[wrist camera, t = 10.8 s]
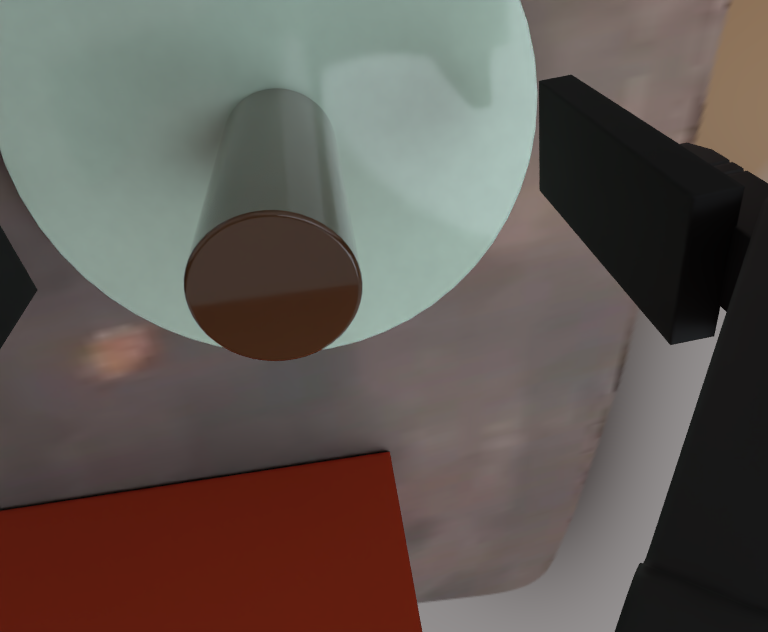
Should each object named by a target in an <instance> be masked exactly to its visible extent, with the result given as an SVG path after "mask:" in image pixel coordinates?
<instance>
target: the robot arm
mask: <svg viewBox="0 0 768 632" xmlns="http://www.w3.org/2000/svg"><path fill="white" fill-rule="evenodd" d="M539 162H540V191H541V192H542V194H543V195H544V196H545V197H546V198H547V199H548V201H549V202H550V203H551V204H552V205H553V207H554V208H555V209H556V210H557V211H558V212H559V214H560V215H561V216H562V217H563V218H564V220H565V221H566V222H567V223H568V224H569V226H570V227H571V228H572V229H573V230H574V231H575V233H576V234H577V235H578V236H579V237H580V239H581V240H582V241H583V242H584V243H585V244H586V246H587V247H588V248H589V249H590V250H591V252H592V253H593V254H594V255H595V256H596V257H597V259H598V260H599V261H600V262H601V263H602V265H603V266H604V267H605V268H606V269H607V271H608V272H609V273H610V274H611V275H612V276H613V278H614V279H615V280H616V281H617V282H618V284H619V285H620V286H621V287H622V288H623V289H624V291H625V292H626V293H627V294H628V295H629V297H630V298H631V299H632V300H633V301H634V302H635V304H636V305H637V306H638V307H639V308H640V310H641V311H642V312H643V313H644V314H645V316H646V317H647V318H648V319H649V320H650V321H651V322H652V324H653V325H654V326H655V327H656V329H657V330H658V331H659V332H660V333H661V334H662V336H663V337H664V338H665V339H666V340H667V342H668V343H669V344H670V345H673V344H678V343H683V342H688V341H693V340H697V339H702V338H707V337H712V336H714V334H715V330H716V325H717V320H718V315H719V310H720V306H721V307H722V308H723V309H724V310H725V311H726V312H727V313H726V316H725V319H724V322H723V325H722V328H721V331H720V334H719V337H718V340H717V343H716V346H715V349H714V352H713V356H712V359H711V362H710V365H709V368H708V371H707V374H706V377H705V380H704V383H703V386H702V389H701V392H700V395H699V398H698V402H697V404H696V408H695V411H694V414H693V417H692V420H691V423H690V426H689V429H688V432H687V435H686V438H685V441H684V444H683V447H682V450H681V453H680V457H679V459H678V462H677V465H676V469H675V472H674V475H673V478H672V481H671V484H670V487H669V490H668V493H667V496H666V499H665V502H664V506H663V508H662V511H661V514H660V517H659V521H658V524H657V527H656V530H655V533H654V536H653V539H652V542H651V545H650V548H649V551H648V554H647V557H646V559H645V561H644V563H640V564H639V566H638V568H637V570H636V572H635V575H634V577H633V580H632V583H631V586H630V588H629V591H628V594H627V597H626V600H625V603H624V606H623V609H622V612H621V615H620V618H619V621H618V623H617V626H616V630H615V632H768V183H766V182H765V181H763V180H761V179H760V178H758V177H756V176H755V175H753V174H752V173H750V172H748V171H744V170H743V168H742V167H740V166H738V165H737V164H735V163H733V162H731V163H730V162H729V160H728V159H727V158H725V157H723V156H722V155H720V154H718V153H717V152H715V151H714V150H712V149H708V148H704V147H701V146H697V145H694V144H690V143H683V144H678V143H677V142H675V141H674V140H672V139H670V138H669V137H667V136H666V135H664V134H663V133H661V132H660V131H658V130H656V129H655V128H653V127H652V126H650V125H649V124H647V123H646V122H644V121H642V120H641V119H639V118H638V117H636V116H635V115H633V114H632V113H630V112H628V111H627V110H625V109H624V108H622V107H621V106H619V105H618V104H616V103H614V102H613V101H611V100H610V99H608V98H607V97H605V96H604V95H602V94H600V93H599V92H597V91H596V90H594V89H593V88H591V87H590V86H588V85H587V84H585V83H583V82H582V81H580V80H579V79H577V78H576V77H574V76H573V75H567V76H562V77H557V78H552V79H547V80H542V81H539ZM36 291H37V288H36V287H35V285H34V283H33V281H32V280H31V278H30V276H29V274H28V273H27V271H26V269H25V268H24V266H23V264H22V262H21V261H20V259H19V257H18V256H17V254H16V252H15V250H14V249H13V247H12V245H11V244H10V242H9V240H8V238H7V237H6V235H5V233H4V231H3V230H2V228H1V226H0V348H1V347H2V345H3V344H4V342H5V341H6V339H7V337H8V336H9V334H10V333H11V331H12V329H13V328H14V326H15V325H16V323H17V322H18V320H19V318H20V317H21V315H22V314H23V312H24V310H25V309H26V307H27V306H28V304H29V303H30V301H31V299H32V298H33V296H34V295H35V293H36Z"/></svg>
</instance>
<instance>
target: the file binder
mask: <svg viewBox="0 0 768 632" xmlns="http://www.w3.org/2000/svg"><path fill="white" fill-rule="evenodd" d="M0 632H422V628H421V622H420V616H419V611H418V605H417V600H416V594H415V589H414V583H413V578H412V572H411V567H410V561H409V556H408V550H407V545H406V539H405V534H404V528H403V523H402V517H401V512H400V506H399V501H398V495H397V489H396V484H395V478H394V473H393V467H392V462H391V456H390V452H383V453H376V454H370V455H363V456H357V457H350V458H344V459H337V460H330V461H324V462H317V463H311V464H304V465H298V466H291V467H285V468H278V469H271V470H265V471H258V472H252V473H245V474H239V475H232V476H225V477H219V478H212V479H206V480H199V481H193V482H186V483H180V484H173V485H166V486H160V487H153V488H147V489H140V490H134V491H127V492H120V493H114V494H107V495H101V496H94V497H88V498H81V499H75V500H68V501H61V502H55V503H48V504H42V505H35V506H29V507H22V508H15V509H9V510H2V511H0Z"/></svg>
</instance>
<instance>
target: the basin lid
mask: <svg viewBox="0 0 768 632" xmlns="http://www.w3.org/2000/svg"><path fill="white" fill-rule="evenodd" d="M537 94H538V93H537V79H536V65H535V56H534V51H533V46H532V41H531V36H530V31H529V26H528V22H527V19H526V16H525V13H524V10H523V7H522V4H521V1H520V0H0V151H1V154H2V157H3V161H4V163H5V166H6V168H7V170H8V172H9V174H10V176H11V178H12V181H13V183H14V185H15V187H16V189H17V191H18V193H19V196H20V197H21V199H22V201H23V202H24V204H25V205H26V207H27V209H28V210H29V212H30V213H31V215H32V217H33V218H34V220H35V221H36V223H37V225H38V226H39V227H40V229H41V230H42V231H43V233H44V234H45V235H46V236H47V238H48V239H49V240H50V241H51V243H52V244H53V245H54V246H55V248H56V249H57V250H58V251H59V253H60V254H61V255H62V256H63V257H64V258H65V259H66V260H67V261H68V262H69V263H70V264H71V265H72V266H73V267H74V268H75V269H76V270H77V271H78V272H79V273H80V274H81V275H82V276H83V277H84V278H86V279H87V280H88V281H89V282H91V283H92V284H93V285H94V286H96V287H97V288H98V289H99V290H101V291H102V292H103V293H104V294H105V295H107V296H108V297H109V298H111V299H112V300H114V301H115V302H117V303H119V304H120V305H122V306H123V307H125V308H126V309H128V310H129V311H131V312H133V313H134V314H136V315H138V316H140V317H142V318H144V319H146V320H147V321H149V322H151V323H153V324H155V325H157V326H159V327H161V328H163V329H166V330H169V331H171V332H174V333H176V334H179V335H182V336H184V337H187V338H190V339H192V340H196V341H200V342H203V343H207V344H211V345H215V346H218V347H223V348H226V349H228V350H230V351H232V352H234V353H237V354H239V355H242V356H245V357H249V358H253V359H259V360H267V361H284V360H291V359H297V358H301V357H305V356H308V355H310V354H313V353H316V352H318V351H320V350H323V349H330V348H335V347H339V346H343V345H347V344H351V343H354V342H358V341H361V340H364V339H367V338H369V337H372V336H375V335H378V334H380V333H383V332H386V331H388V330H390V329H392V328H394V327H396V326H398V325H400V324H402V323H404V322H406V321H408V320H410V319H411V318H413V317H414V316H416V315H417V314H419V313H420V312H422V311H424V310H425V309H427V308H428V307H430V306H431V305H433V304H434V303H435V302H437V301H438V300H439V299H440V298H442V297H443V296H444V295H445V294H446V293H448V292H449V291H450V290H451V289H453V288H454V287H455V286H456V285H457V284H458V283H459V282H460V281H461V280H462V279H463V278H464V277H465V276H466V275H467V274H468V273H469V272H470V271H471V270H472V269H473V268H474V267H475V265H476V264H477V263H478V261H479V260H480V259H481V258H482V256H483V255H484V254H485V252H486V251H487V250H488V249H489V247H490V246H491V245H492V243H493V242H494V240H495V238H496V237H497V235H498V233H499V232H500V230H501V228H502V227H503V225H504V223H505V222H506V220H507V219H508V216H509V214H510V212H511V210H512V208H513V205H514V203H515V201H516V199H517V196H518V194H519V192H520V190H521V186H522V183H523V180H524V177H525V174H526V170H527V167H528V164H529V161H530V156H531V150H532V145H533V139H534V134H535V128H536V112H537Z"/></svg>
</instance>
